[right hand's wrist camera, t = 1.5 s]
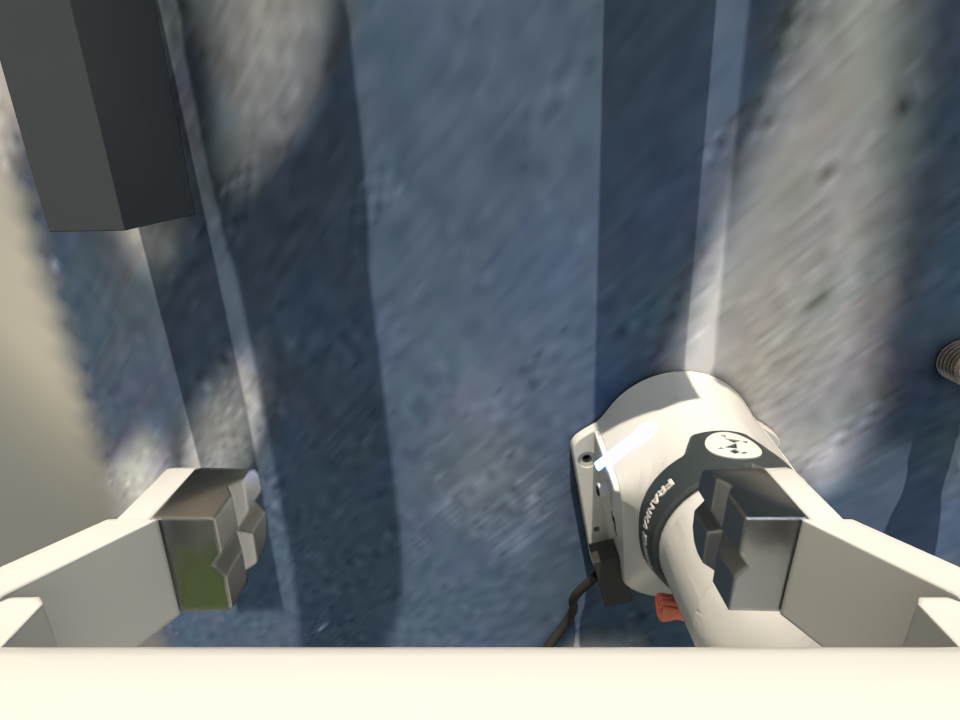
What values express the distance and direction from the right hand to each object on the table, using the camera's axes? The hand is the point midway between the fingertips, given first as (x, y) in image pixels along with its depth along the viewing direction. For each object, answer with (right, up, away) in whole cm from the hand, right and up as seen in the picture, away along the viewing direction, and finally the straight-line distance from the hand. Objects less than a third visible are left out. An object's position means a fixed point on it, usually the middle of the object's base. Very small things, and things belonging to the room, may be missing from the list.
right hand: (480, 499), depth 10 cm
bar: (-25, +25, +30) cm, 46 cm away
